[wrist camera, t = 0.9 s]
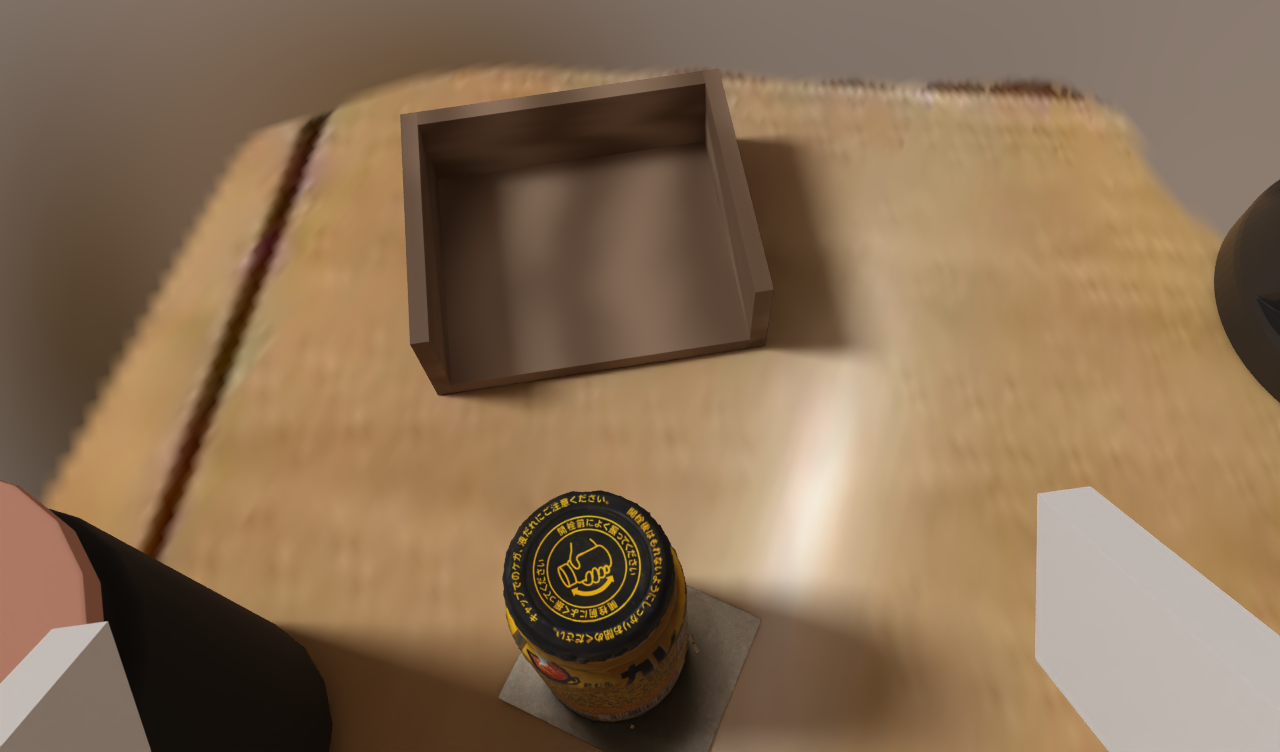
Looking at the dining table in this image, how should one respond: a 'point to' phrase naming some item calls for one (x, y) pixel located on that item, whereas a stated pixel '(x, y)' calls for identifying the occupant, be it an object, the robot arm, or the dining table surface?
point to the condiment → (616, 630)
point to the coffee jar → (158, 637)
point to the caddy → (579, 233)
